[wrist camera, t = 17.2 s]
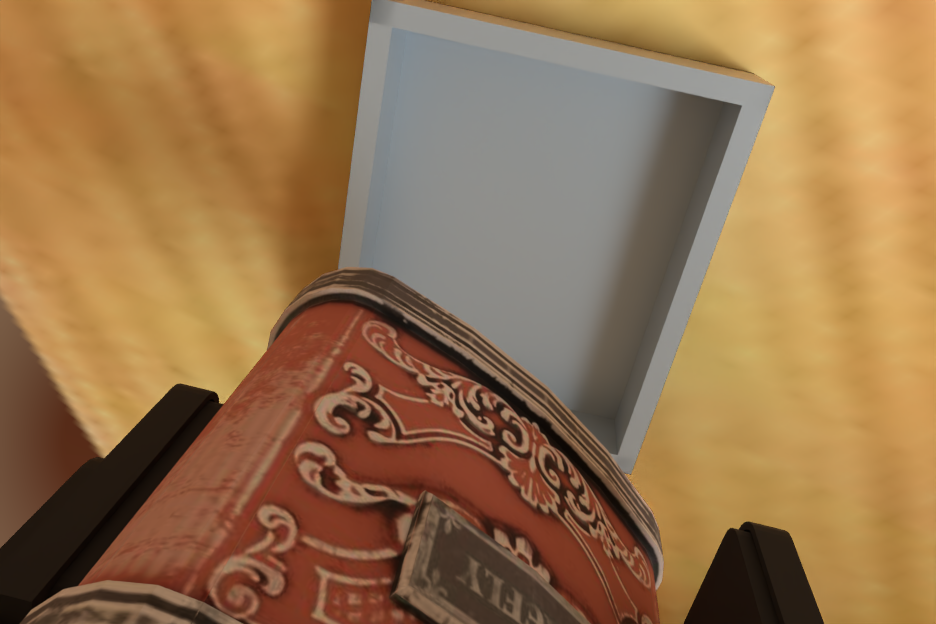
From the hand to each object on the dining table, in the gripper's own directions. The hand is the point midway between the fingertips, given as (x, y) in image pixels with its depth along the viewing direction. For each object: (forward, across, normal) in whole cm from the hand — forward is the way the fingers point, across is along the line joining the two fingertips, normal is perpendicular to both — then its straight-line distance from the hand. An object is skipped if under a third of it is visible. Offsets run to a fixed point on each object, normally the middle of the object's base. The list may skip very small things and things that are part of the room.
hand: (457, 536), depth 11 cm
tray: (+14, 0, 0) cm, 14 cm away
